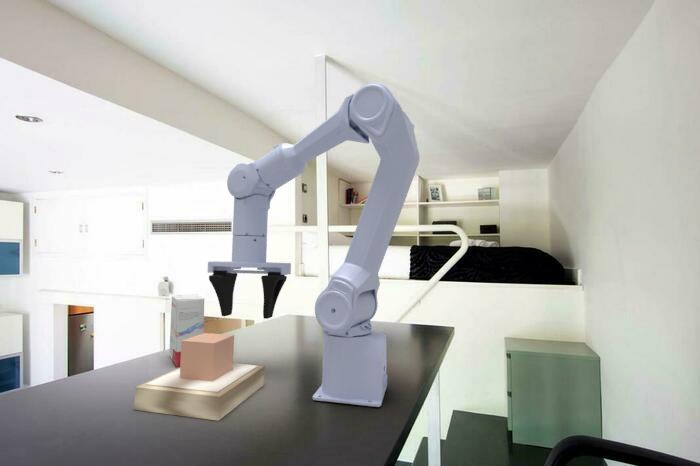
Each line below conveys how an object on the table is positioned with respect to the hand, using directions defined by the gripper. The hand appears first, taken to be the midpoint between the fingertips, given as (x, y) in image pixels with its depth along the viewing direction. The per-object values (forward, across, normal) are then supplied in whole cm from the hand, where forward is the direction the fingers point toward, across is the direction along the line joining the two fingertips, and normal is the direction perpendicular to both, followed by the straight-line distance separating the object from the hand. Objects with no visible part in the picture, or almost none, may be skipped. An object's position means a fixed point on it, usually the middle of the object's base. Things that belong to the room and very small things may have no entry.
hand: (247, 316), depth 59 cm
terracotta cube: (+6, +1, +10) cm, 12 cm away
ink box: (+10, +14, -4) cm, 18 cm away
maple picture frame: (+9, +1, +10) cm, 14 cm away
